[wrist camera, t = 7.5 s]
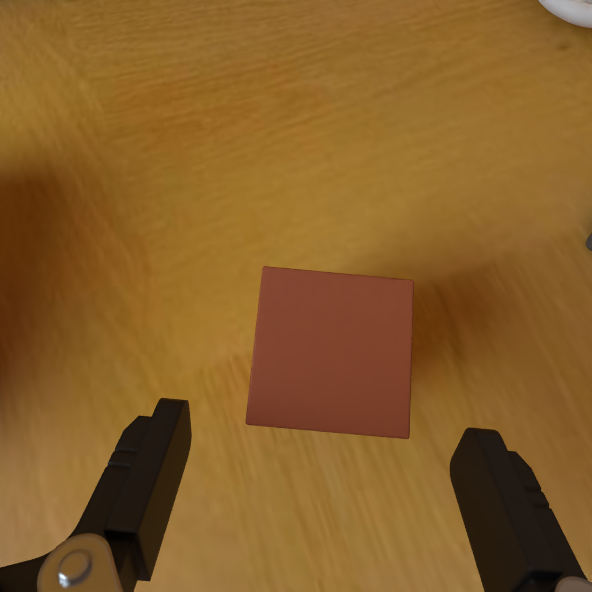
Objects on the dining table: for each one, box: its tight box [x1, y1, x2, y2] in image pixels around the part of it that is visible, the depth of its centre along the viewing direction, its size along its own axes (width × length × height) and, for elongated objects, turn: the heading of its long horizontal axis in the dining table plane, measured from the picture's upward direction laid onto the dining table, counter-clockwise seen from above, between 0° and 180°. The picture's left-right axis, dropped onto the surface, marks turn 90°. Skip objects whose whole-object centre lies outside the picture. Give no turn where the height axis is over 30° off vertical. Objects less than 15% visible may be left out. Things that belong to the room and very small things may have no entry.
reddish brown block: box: [246, 266, 414, 439], centre depth 16 cm, size 5×5×9 cm
